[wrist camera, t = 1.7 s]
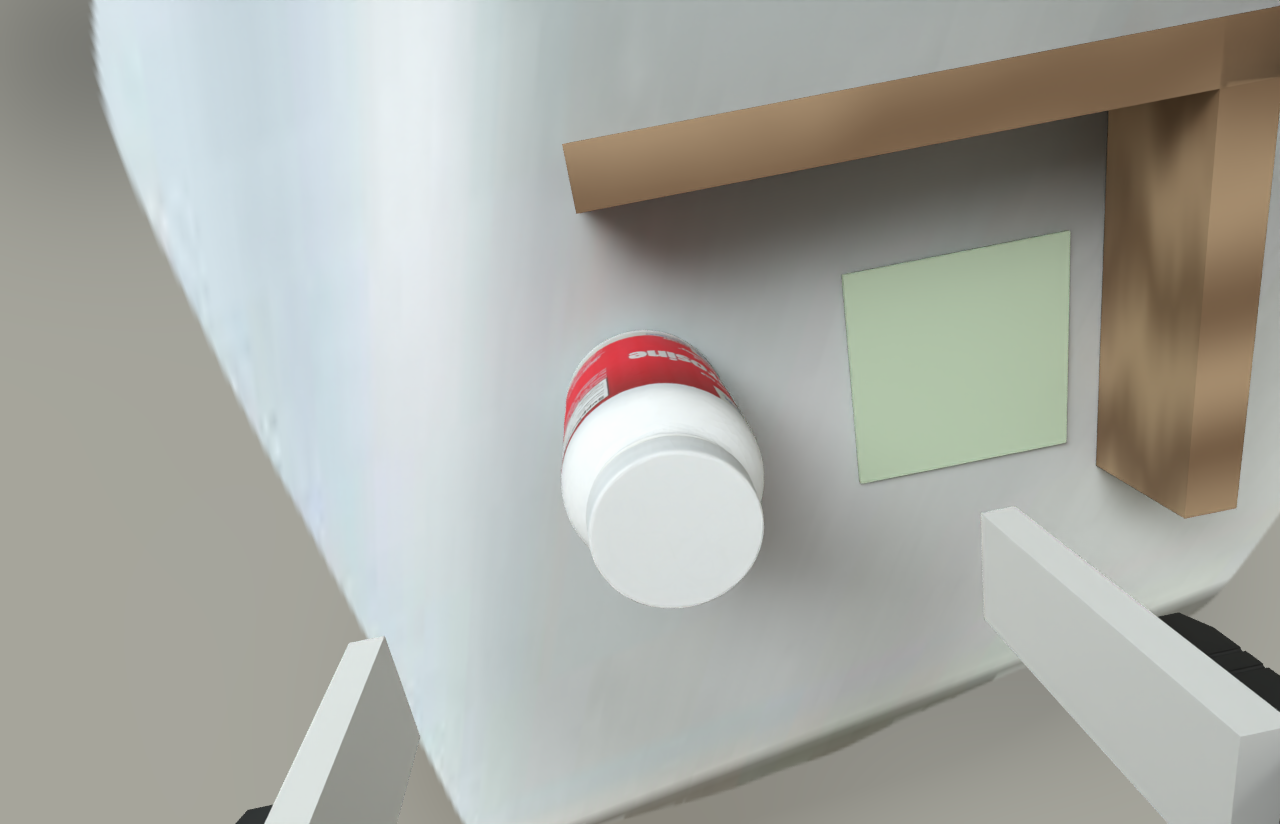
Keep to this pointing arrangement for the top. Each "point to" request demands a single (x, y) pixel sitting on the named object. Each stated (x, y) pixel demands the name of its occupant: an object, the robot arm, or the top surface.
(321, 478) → the top surface
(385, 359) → the top surface
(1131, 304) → the corner barrier
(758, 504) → the pill bottle
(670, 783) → the top surface
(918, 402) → the pad
